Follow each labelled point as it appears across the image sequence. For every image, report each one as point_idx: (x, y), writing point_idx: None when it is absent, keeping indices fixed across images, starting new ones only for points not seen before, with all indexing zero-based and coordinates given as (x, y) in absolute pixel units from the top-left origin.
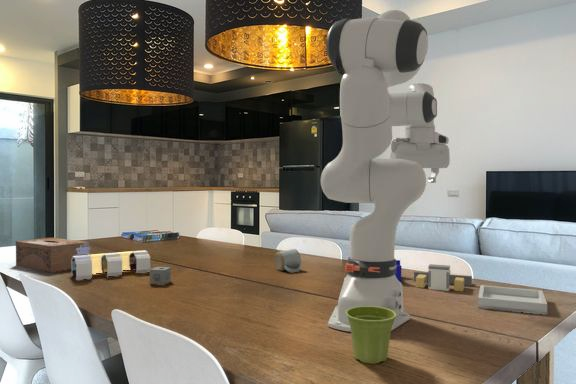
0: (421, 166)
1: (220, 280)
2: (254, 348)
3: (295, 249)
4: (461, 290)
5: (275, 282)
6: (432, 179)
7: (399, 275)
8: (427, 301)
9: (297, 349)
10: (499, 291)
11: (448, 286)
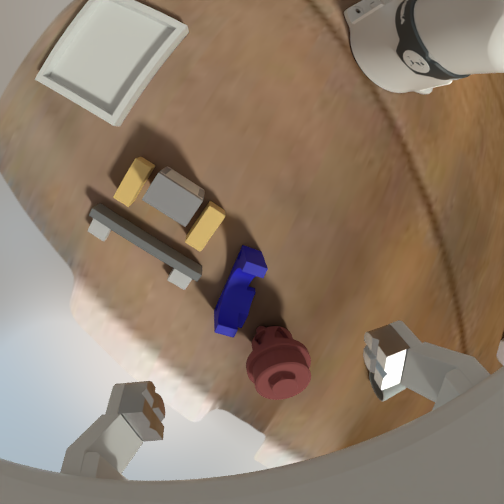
0: (320, 468)
1: (477, 301)
2: None
3: (385, 395)
4: (142, 157)
5: (438, 285)
6: (141, 398)
7: (248, 253)
8: (261, 90)
9: None
10: (92, 102)
11: (167, 167)
